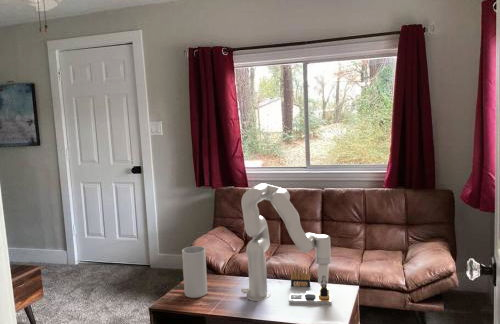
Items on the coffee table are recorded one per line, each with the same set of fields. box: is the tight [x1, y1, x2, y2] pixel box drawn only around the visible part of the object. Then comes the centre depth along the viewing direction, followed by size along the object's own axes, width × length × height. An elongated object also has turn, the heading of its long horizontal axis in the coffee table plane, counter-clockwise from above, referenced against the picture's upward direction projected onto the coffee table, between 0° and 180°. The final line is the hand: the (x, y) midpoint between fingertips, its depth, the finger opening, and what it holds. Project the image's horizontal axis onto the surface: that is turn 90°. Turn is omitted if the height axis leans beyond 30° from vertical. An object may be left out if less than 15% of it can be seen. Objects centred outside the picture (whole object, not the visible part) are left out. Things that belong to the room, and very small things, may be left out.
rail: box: [288, 293, 332, 306], centre depth 219 cm, size 21×8×3 cm, turn 81°
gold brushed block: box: [319, 285, 330, 300], centre depth 217 cm, size 4×4×7 cm
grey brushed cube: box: [305, 290, 315, 300], centre depth 219 cm, size 4×4×4 cm
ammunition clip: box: [290, 266, 311, 288], centre depth 238 cm, size 11×2×12 cm, turn 80°
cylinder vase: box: [181, 245, 208, 299], centre depth 235 cm, size 12×12×25 cm
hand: (323, 292), depth 217 cm, fingers open, 9 cm apart
